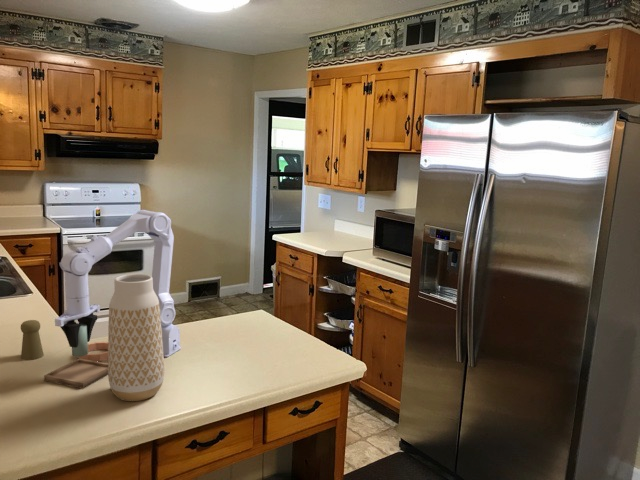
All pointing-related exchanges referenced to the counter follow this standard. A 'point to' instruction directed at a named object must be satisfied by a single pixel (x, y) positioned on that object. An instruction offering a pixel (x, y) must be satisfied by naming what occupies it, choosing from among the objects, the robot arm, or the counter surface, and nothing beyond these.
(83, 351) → the gray-green peg
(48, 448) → the counter surface
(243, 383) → the counter surface
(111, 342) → the vase
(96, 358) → the faceted terracotta ring
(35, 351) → the olive pepper mill
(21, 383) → the counter surface
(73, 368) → the walnut tray
